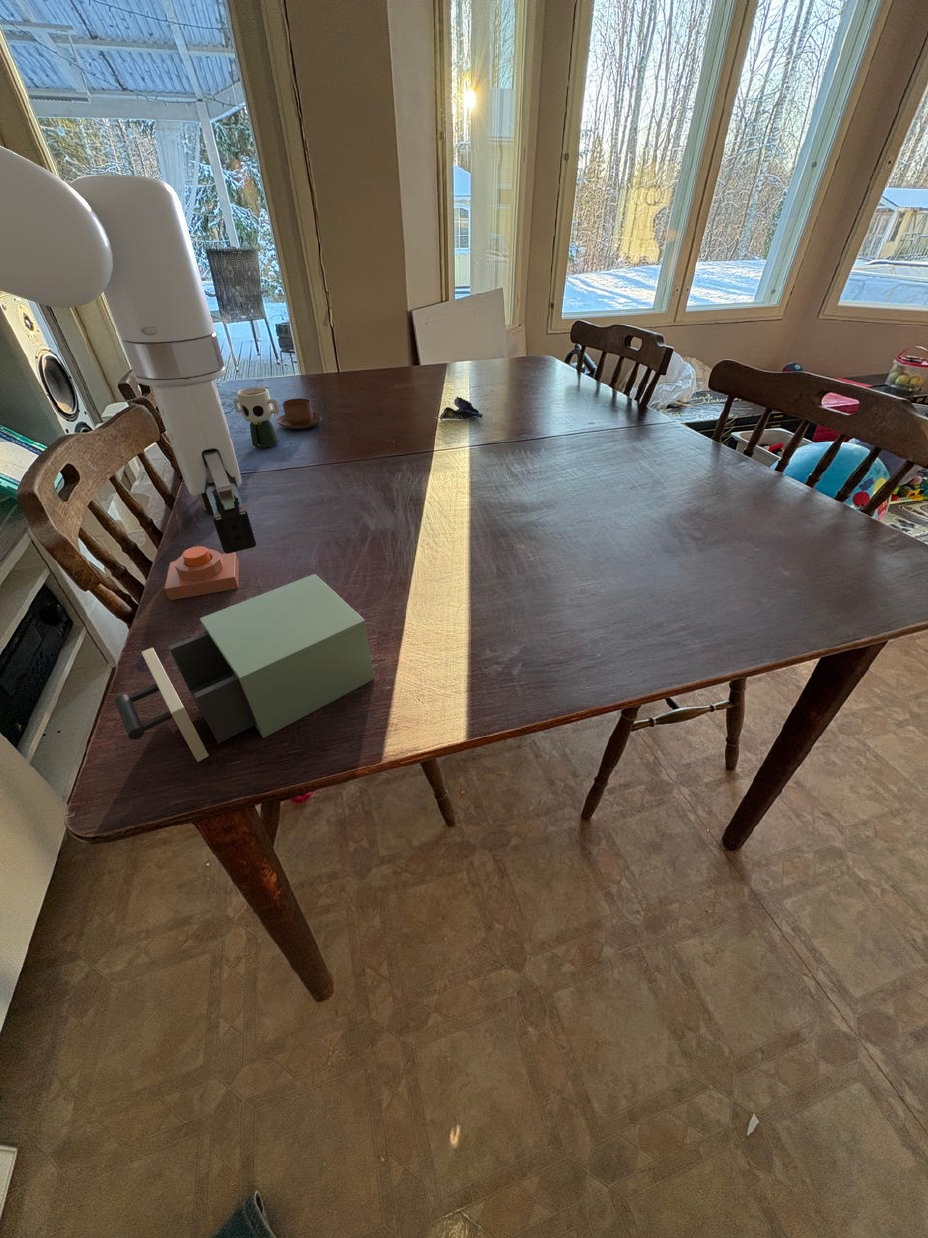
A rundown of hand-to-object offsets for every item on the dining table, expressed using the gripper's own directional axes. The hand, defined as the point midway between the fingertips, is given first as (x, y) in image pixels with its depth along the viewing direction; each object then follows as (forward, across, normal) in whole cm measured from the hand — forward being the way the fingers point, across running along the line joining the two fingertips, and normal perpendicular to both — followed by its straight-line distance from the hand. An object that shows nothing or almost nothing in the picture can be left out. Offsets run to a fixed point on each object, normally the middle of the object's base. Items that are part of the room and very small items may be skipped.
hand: (231, 529), depth 56 cm
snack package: (+19, -73, +72) cm, 104 cm away
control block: (+19, -24, -5) cm, 31 cm away
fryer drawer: (+18, +7, -7) cm, 21 cm away
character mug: (+19, -80, +19) cm, 85 cm away
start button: (+15, -23, -5) cm, 28 cm away
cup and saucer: (+19, -91, +31) cm, 98 cm away
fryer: (+19, +6, +2) cm, 20 cm away
